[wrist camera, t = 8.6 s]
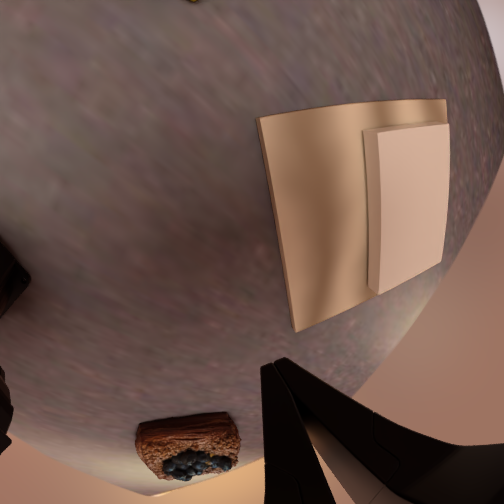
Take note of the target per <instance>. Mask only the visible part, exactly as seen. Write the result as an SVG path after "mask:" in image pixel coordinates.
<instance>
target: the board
mask: <svg viewBox="0 0 504 504" xmlns="http://www.w3.org/2000/svg"><path fill="white" fill-rule="evenodd" d="M435 121H436V122H442V123H447V109H446V100H445V99H404V100H385V101H371V102H359V103H349V104H340V105H331V106H324V107H316V108H309V109H303V110H296V111H290V112H285V113H279V114H274V115H268V116H263V117H258V118H256V123H257V128H258V133H259V138H260V143H261V149H262V154H263V159H264V164H265V170H266V175H267V180H268V186H269V191H270V197H271V202H272V208H273V213H274V219H275V225H276V231H277V236H278V242H279V248H280V254H281V260H282V266H283V272H284V278H285V285H286V291H287V297H288V303H289V310H290V316H291V323H292V328H293V329H294V331H295V332H299V331H301V330H303V329H306V328H308V327H310V326H313V325H315V324H317V323H319V322H322V321H324V320H326V319H328V318H331V317H333V316H335V315H337V314H339V313H341V312H344V311H346V310H348V309H350V308H352V307H354V306H356V305H358V304H360V303H362V302H364V301H366V300H368V299H370V298H372V297H374V296H376V295H377V294H376V293H375V292H374V291H373V290H372V289H370V288H369V287H368V269H369V215H368V188H367V171H366V157H365V145H364V135H363V130H369V129H376V128H383V127H390V126H398V125H406V124H415V123H424V122H435Z"/></svg>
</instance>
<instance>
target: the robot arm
mask: <svg viewBox="0 0 504 504" xmlns="http://www.w3.org/2000/svg"><path fill="white" fill-rule="evenodd" d="M22 278H24V279H26V281H24V280H23V279H22ZM30 281H31V278H30V276H29V274H28V273H27V272H26V271H25V270H24V269H23V268H22V267H21V266H20V265H19V264H18V263H17V261H16V260H15V259H14V257H13V256H12V255H11V254H10V253H9V252H8V251H7V249H6V248H5V247H4V246H3V245H2V244H1V242H0V318H1V317H2V316H3V315H4V313H5V312H6V311H7V310H8V309H9V307H10V306H11V305H12V304H13V303H14V301H15V300H16V299H17V298H18V297H19V296H20V294H21V293H22V292H23V291H24V290H25V289H26V288H27V287H28V285H29V283H30ZM260 375H261V397H262V418H263V440H264V460H265V497H264V504H336V502H335V500H334V497H333V495H332V493H331V490H330V488H329V486H328V483H327V480H326V478H325V476H324V473H323V470H322V468H321V466H320V463H319V460H318V458H317V455H316V453H315V451H314V448H313V446H314V447H315V449H316V450H317V451H318V453H319V454H320V456H321V457H322V459H323V460H324V461H325V463H326V464H327V466H328V467H329V468H330V470H331V471H332V473H333V474H334V475H335V477H336V478H337V479H338V481H339V482H340V483H341V485H342V486H343V488H344V489H345V490H346V492H347V493H348V494H349V496H350V497H351V498H352V500H353V501H354V502H355V504H504V443H503V444H502V443H501V444H490V445H476V446H475V445H473V446H462V445H454V444H450V443H446V442H443V441H440V440H437V439H434V438H432V437H429V436H426V435H423V434H421V433H418V432H415V431H412V430H410V429H408V428H405V427H403V426H400V425H398V424H396V423H394V422H392V421H390V420H389V419H387V418H385V417H383V416H381V415H379V414H378V413H376V412H374V413H373V411H372V410H370V409H369V408H367V407H365V406H364V405H362V404H360V403H358V402H357V401H355V400H354V399H352V398H350V397H349V396H347V395H345V394H344V393H342V392H340V391H339V390H337V389H335V388H334V387H332V386H330V385H329V384H327V383H326V382H324V381H322V380H321V379H319V378H318V377H316V376H315V375H313V374H311V373H310V372H308V371H307V370H305V369H304V368H302V367H301V366H299V365H297V364H296V363H294V362H293V361H291V360H290V359H288V358H286V357H283V358H281V359H278V360H276V361H274V363H268V364H266V365H263V366H261V368H260ZM13 411H14V408H13V406H12V405H11V399H10V392H9V389H8V387H7V385H6V383H5V372H4V370H3V369H2V368H1V366H0V455H1V453H2V452H3V451H4V450H5V449H6V448H7V447H8V446H9V445H10V444H11V443H12V440H11V439H10V438H9V437H8V436H7V435H6V434H7V431H8V428H9V426H10V423H11V421H12V416H13ZM312 444H313V445H312Z"/></svg>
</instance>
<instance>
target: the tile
mask: <svg viewBox="0 0 504 504" xmlns="http://www.w3.org/2000/svg"><path fill="white" fill-rule="evenodd" d="M363 135H364V145H365V157H366V171H367V188H368V215H369V269H368V287H369V288H370V289H372V290H373V291H374V292H375V293H376V294H377V295H380V294H382V293H384V292H386V291H388V290H390V289H392V288H394V287H395V286H397V285H399V284H401V283H403V282H405V281H407V280H409V279H410V278H412V277H414V276H416V275H418V274H420V273H421V272H423V271H425V270H427V269H429V268H430V267H432V266H434V265H436V264H437V263H439V262H441V259H442V252H443V245H444V237H445V229H446V219H447V208H448V194H449V171H450V137H449V124H447V123H442V122H436V121H435V122H424V123H415V124H406V125H398V126H390V127H383V128H376V129H369V130H363Z"/></svg>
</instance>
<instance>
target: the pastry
mask: <svg viewBox="0 0 504 504" xmlns="http://www.w3.org/2000/svg"><path fill="white" fill-rule="evenodd" d="M136 435H137V438H136V440H135V447H136V451H137V454H138V455H139V457H140V458H141V460H142V461H143V462H144V463H145V464H146V465H147V467H148V468H149V469H150V470H151V471H153V473H155V475H157V477H158V478H159V479H162V478H163V479H166V480H173V479H177V480H182V481H189V480H191V478H192V476H195V475H204V474H209V473H218V474H220V473H222V472H227V471H228V470H230V469H231V468H232V467H233V466H234V467H235V466H236V464H237V463H238V460H237V458H238V457H237V455H238V453H239V450H240V447H241V446H240V441H241V439H240V436H239V434H238V429H237V427H236V425H235V424H234V422H233V421H232V420H231V418H230V417H229V416H228V414H227V413H226V412H218V413H207V414H199V415H192V416H186V417H179V418H173V417H171V418H168V419H164V420H156V421H151V422H144V423H140V424H139V428H138V431H137V434H136Z"/></svg>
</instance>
